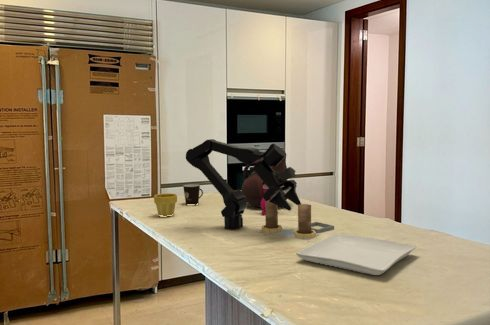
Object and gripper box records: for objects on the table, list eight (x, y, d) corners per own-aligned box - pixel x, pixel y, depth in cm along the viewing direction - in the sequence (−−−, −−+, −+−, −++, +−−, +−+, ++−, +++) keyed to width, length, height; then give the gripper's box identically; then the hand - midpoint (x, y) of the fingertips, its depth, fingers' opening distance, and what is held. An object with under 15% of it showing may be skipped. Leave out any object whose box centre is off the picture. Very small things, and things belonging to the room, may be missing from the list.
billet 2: (301, 238, 151) (301, 207, 150) (296, 234, 155) (295, 204, 154) (313, 236, 152) (313, 206, 151) (307, 233, 157) (307, 203, 156)
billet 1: (271, 232, 159) (270, 203, 158) (263, 230, 163) (262, 201, 162) (280, 230, 162) (280, 201, 161) (272, 228, 166) (271, 199, 165)
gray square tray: (317, 236, 157) (317, 229, 157) (300, 231, 164) (300, 225, 164) (334, 232, 162) (334, 225, 162) (316, 227, 170) (316, 221, 169)
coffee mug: (181, 203, 227) (181, 185, 226) (197, 202, 231) (196, 183, 230) (188, 207, 217) (187, 188, 216) (204, 205, 220) (204, 186, 219)
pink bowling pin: (258, 215, 196) (257, 171, 194) (264, 212, 202) (264, 169, 200) (272, 216, 192) (272, 171, 190) (279, 213, 199) (278, 170, 197)
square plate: (337, 242, 150) (337, 231, 150) (417, 257, 133) (417, 244, 132) (294, 263, 129) (294, 250, 129) (383, 283, 112) (383, 268, 111)
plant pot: (180, 216, 195) (179, 195, 194) (158, 219, 191) (157, 197, 190) (174, 212, 205) (173, 192, 204) (152, 215, 200) (151, 194, 199)
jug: (256, 199, 234) (255, 154, 232) (299, 203, 221) (298, 155, 219) (231, 208, 213) (230, 157, 211) (277, 212, 200) (276, 159, 198)
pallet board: (256, 234, 162) (256, 227, 161) (270, 229, 169) (270, 222, 168) (307, 243, 148) (307, 236, 148) (320, 237, 155) (320, 230, 155)
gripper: (270, 162, 147) (301, 197, 143) (291, 158, 163) (319, 189, 159) (250, 184, 152) (279, 218, 147) (273, 177, 168) (299, 208, 164)
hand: (295, 207), depth 154 cm, fingers open, 9 cm apart
